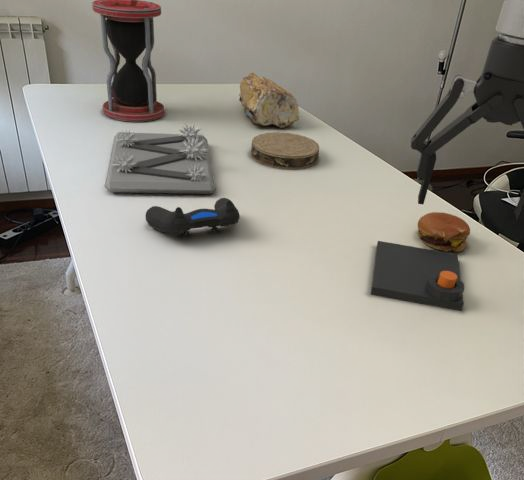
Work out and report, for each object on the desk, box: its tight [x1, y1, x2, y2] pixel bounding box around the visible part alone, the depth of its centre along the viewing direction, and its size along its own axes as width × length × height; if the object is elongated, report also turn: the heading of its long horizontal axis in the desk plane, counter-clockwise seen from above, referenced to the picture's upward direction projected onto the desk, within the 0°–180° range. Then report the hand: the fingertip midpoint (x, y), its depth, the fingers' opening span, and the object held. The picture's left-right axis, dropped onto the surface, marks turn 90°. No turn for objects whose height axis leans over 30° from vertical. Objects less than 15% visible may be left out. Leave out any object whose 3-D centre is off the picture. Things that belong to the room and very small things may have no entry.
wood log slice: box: [250, 131, 320, 170], centre depth 130 cm, size 16×16×3 cm
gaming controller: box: [144, 197, 241, 236], centre depth 97 cm, size 17×6×10 cm
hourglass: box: [91, 0, 165, 123], centre depth 140 cm, size 16×16×25 cm
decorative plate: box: [104, 122, 217, 195], centre depth 117 cm, size 30×22×7 cm
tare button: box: [437, 271, 457, 289], centre depth 85 cm, size 3×3×2 cm
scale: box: [370, 240, 465, 311], centre depth 91 cm, size 14×16×3 cm
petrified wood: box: [238, 72, 300, 129], centre depth 150 cm, size 19×13×10 cm
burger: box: [417, 211, 471, 253], centre depth 101 cm, size 10×9×5 cm
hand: (468, 208), depth 78 cm, fingers open, 13 cm apart
